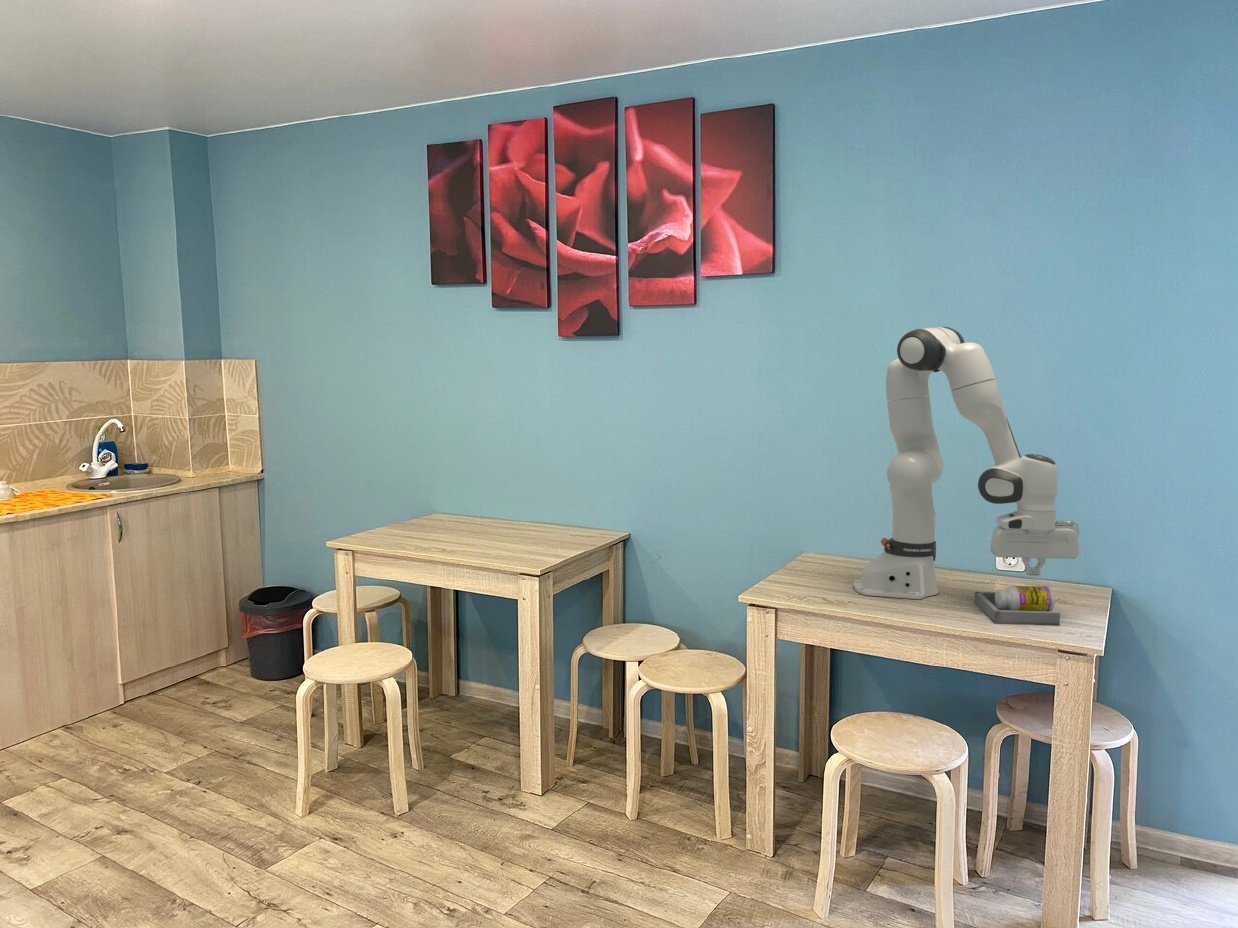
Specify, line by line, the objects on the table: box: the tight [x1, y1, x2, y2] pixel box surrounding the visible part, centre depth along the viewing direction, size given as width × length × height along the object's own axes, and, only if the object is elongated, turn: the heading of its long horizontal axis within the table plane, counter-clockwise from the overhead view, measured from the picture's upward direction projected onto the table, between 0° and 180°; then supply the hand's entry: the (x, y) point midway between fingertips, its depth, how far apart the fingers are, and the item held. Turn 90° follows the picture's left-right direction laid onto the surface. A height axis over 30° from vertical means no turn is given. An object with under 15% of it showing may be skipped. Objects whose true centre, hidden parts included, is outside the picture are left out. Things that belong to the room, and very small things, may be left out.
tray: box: [974, 591, 1061, 626], centre depth 233 cm, size 15×18×3 cm
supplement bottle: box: [995, 585, 1056, 612], centre depth 232 cm, size 7×7×13 cm
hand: (1032, 574), depth 231 cm, fingers closed
